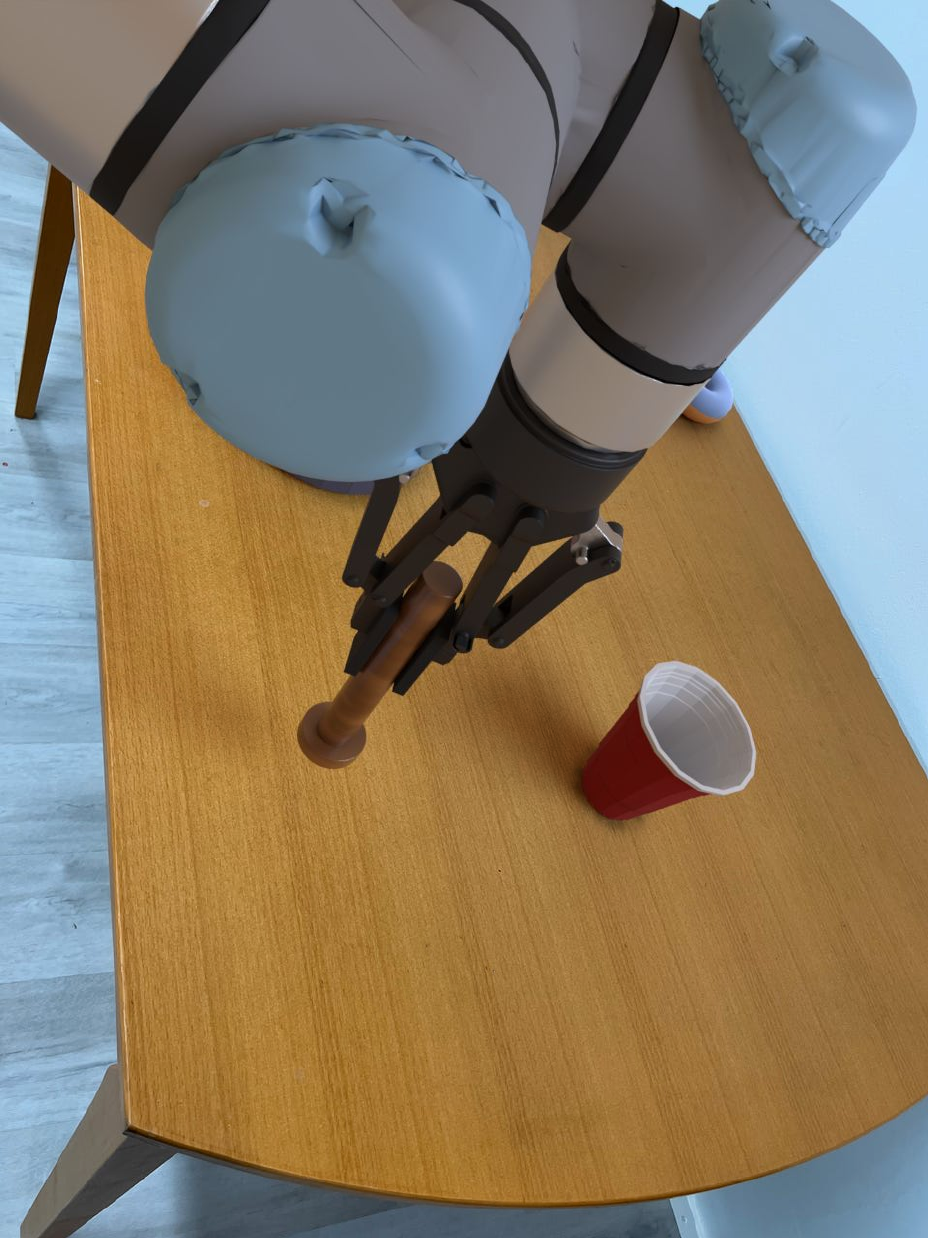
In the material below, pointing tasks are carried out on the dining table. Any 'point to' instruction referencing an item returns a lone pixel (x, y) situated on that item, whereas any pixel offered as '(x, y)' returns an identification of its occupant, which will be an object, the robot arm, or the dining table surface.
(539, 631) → the dining table surface
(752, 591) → the dining table surface
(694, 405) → the doughnut
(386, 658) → the muddler
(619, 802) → the plastic cup
